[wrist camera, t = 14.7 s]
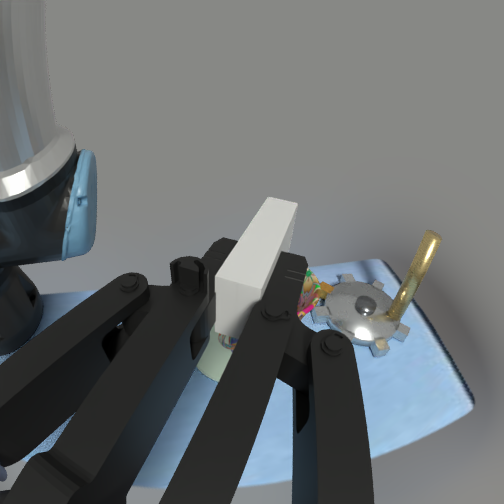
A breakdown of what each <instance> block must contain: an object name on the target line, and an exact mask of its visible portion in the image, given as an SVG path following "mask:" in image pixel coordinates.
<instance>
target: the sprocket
mask: <svg viewBox="0 0 504 504" xmlns="http://www.w3.org/2000/svg"><path fill="white" fill-rule="evenodd" d="M441 240H442V238H441V236H440V235H438V234H437V233H436V232H434V231H431V230H426V232H425V234H424V237H423V240H422V241H421V244H420V246H419V248H418V251H417V253H416V255H415V258H414V260H413V262H412V264H411V266H410V269H409V270H408V273H407V275H406V277H405V279H404V281H403V283H402V285H401V287H400V289H399V291H398V293H397V295H396V297H395V299H394V301H393V300H392V299H391V298H390V297H389V296H388V295H387V294H386V293H385V292H383V291H382V289H383V287H384V284H383V283H381V282H379V281H377V280H375V281H374V283H373V284H372V285H370V284H367V283H363V282H358V281H355V279H354V277H353V275H352V274H342V276H341V279H340V283H339V284H337V285H335V286H334V287H332V286H331V285H329V284H327V283H325V282H322V283H321V284H320V288H321V294H320V297H321V298H323V299H324V300H325V302H324V306H316V307H314V308H313V311H312V317H313V320H314V323H328V325H329V326H330V327H331V329H332V330H336V331H339V332H341V333H343V334H345V335H346V336H347V337H348V338H349V339H350V340H351V343H353V344H356V345H360V346H367V347H370V348H371V350H372V352H373V355H374V357H380V356H385V355H386V354H387V353H388V351H389V350H390V348H389V346H388V343H387V342H388V341H389V340H390V339H391V338H392V337H394V338H396V339H398V340H400V341H402V342H404V340H405V339H406V337H407V336H408V333H409V330H410V328H409V327H407V326H406V325H404V324H402V323H400V319H401V318H402V316H403V315H404V313H405V311H406V309H407V307H408V306H409V304H410V302H411V300H412V298H413V297H414V295H415V293H416V291H417V289H418V287H419V285H420V283H421V282H422V280H423V278H424V276H425V274H426V272H427V270H428V268H429V266H430V264H431V262H432V260H433V258H434V255H435V253H436V251H437V249H438V246H439V245H440V242H441Z"/></svg>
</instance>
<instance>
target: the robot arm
mask: <svg viewBox="0 0 504 504" xmlns="http://www.w3.org/2000/svg"><path fill="white" fill-rule="evenodd" d="M45 8H46V0H0V356H2V355H5V354H8V353H11V352H13V351H14V350H16V349H18V348H19V347H20V346H22V345H23V344H24V343H25V342H26V341H27V340H28V339H29V338H30V337H31V336H32V334H33V333H34V332H35V330H36V328H37V327H38V325H39V322H40V320H41V317H42V313H43V302H42V298H41V296H40V294H39V292H38V290H37V288H36V286H35V285H34V283H33V282H32V281H31V280H30V279H29V278H28V276H27V275H26V274H25V273H24V272H23V271H22V270H21V269H20V267H19V266H18V265H25V264H33V263H40V262H41V263H42V262H50V261H58V260H62V261H64V260H66V258H71V257H75V256H80V255H84V254H86V253H87V252H89V251H90V249H91V247H92V246H93V244H94V240H95V233H96V213H97V170H96V159H95V155H94V153H93V152H92V151H90V150H85V149H83V150H81V151H79V152H77V149H76V145H75V139H74V135H73V134H72V132H71V131H70V130H69V129H67V128H65V127H63V126H60V125H57V123H56V118H55V113H54V107H53V102H52V95H51V87H50V79H49V72H48V61H47V48H46V26H45V25H46V23H45ZM297 206H298V204H297V203H294V202H290V201H285V200H281V199H276V198H271V197H268V198H267V200H266V201H265V202H264V204H263V205H262V207H261V208H260V210H259V211H258V213H257V214H256V216H255V217H254V219H253V220H252V222H251V223H250V225H249V226H248V227H247V229H246V231H245V232H244V233H243V235H242V236H241V238H240V239H239V241H236V240H231V239H227V238H221V239H219V240H218V241H216V242H214V243H213V244H212V246H211V247H210V248H209V250H208V251H207V252H206V253H205V255H204V257H202V258H201V259H200V258H198V257H192V256H188V257H180V258H178V259H175V260H174V261H172V262H171V263H170V270H171V279H172V284H171V285H170V286H156V285H148V281H147V279H146V278H145V276H144V275H141V274H139V273H126V274H123V275H121V276H119V277H117V278H116V279H114V280H113V281H111V282H110V283H108V284H107V285H106V286H104V287H103V288H101V289H100V290H98V291H97V292H96V293H94V294H93V295H91V296H90V297H88V298H87V299H86V300H84V301H83V302H81V303H80V304H79V305H77V306H76V307H74V308H73V309H72V310H70V311H69V312H68V313H66V314H65V315H64V316H62V317H61V318H59V319H58V320H57V321H55V322H54V323H53V324H51V325H50V326H49V327H47V328H46V329H45V330H44V331H42V332H41V333H40V334H38V335H37V336H36V337H34V338H33V339H32V340H31V341H29V342H28V343H27V344H25V345H24V346H23V347H22V348H20V349H19V350H18V351H17V352H15V353H14V354H13V355H12V356H10V357H9V358H8V359H7V360H5V361H4V362H3V363H2V364H1V365H0V481H5V480H6V479H7V472H6V470H5V468H4V467H7V466H10V465H12V464H14V463H16V462H18V461H20V460H21V459H23V458H24V457H25V456H27V455H28V454H29V453H30V452H31V451H33V450H34V449H35V448H36V447H37V446H38V445H39V444H40V443H42V442H43V441H44V440H45V439H46V438H47V437H48V436H49V435H50V434H52V433H53V432H54V431H55V430H56V429H57V428H58V427H59V426H61V425H62V424H63V423H64V422H65V421H66V420H67V419H68V418H69V417H71V416H72V415H73V414H74V413H75V412H76V413H75V414H74V416H73V417H72V419H71V420H70V422H69V423H68V424H67V426H66V427H65V429H64V430H63V432H62V434H61V435H60V437H59V438H58V440H57V441H56V443H55V444H54V446H53V447H52V448H51V449H50V450H49V451H47V452H42V453H37V454H36V455H34V456H32V457H31V458H30V459H29V461H28V462H27V463H26V465H25V466H24V468H23V469H22V471H21V473H20V474H19V476H18V478H17V479H16V481H15V483H14V484H13V486H12V488H11V490H5V491H0V504H126V496H127V493H128V491H129V490H130V488H131V486H132V484H133V482H134V480H135V479H136V477H137V475H138V473H139V471H140V469H141V468H142V466H143V464H144V462H145V460H146V458H147V457H148V455H149V453H150V451H151V449H152V447H153V445H154V444H155V442H156V440H157V438H158V436H159V434H160V433H161V431H162V429H163V427H164V425H165V423H166V421H167V420H168V418H169V416H170V414H171V412H172V410H173V408H174V407H175V405H176V403H177V401H178V399H179V397H180V395H181V394H182V392H183V390H184V388H185V386H186V384H187V382H188V381H189V379H190V377H191V375H192V373H193V371H194V369H195V368H196V366H197V364H198V362H199V360H200V358H201V356H202V355H203V353H204V351H205V349H206V347H207V345H208V343H209V340H210V331H211V329H212V327H213V325H214V324H215V332H217V333H220V334H223V335H226V336H230V337H233V338H236V339H238V341H237V344H236V346H235V348H234V350H233V352H232V354H231V357H230V359H229V361H228V363H227V365H226V367H225V370H224V372H223V374H222V376H221V378H220V380H219V382H218V385H217V387H216V389H215V391H214V393H213V395H212V397H211V399H210V401H209V404H208V406H207V408H206V410H205V412H204V414H203V416H202V418H201V420H200V422H199V424H198V426H197V428H196V431H195V433H194V435H193V437H192V439H191V441H190V443H189V445H188V447H187V449H186V451H185V453H184V455H183V457H182V459H181V461H180V463H179V465H178V467H177V469H176V471H175V473H174V475H173V477H172V479H171V481H170V483H169V485H168V487H167V489H166V491H165V493H164V495H163V497H162V498H161V501H160V502H159V504H230V503H231V501H232V498H233V496H234V494H235V491H236V489H237V486H238V484H239V481H240V479H241V476H242V474H243V471H244V468H245V466H246V463H247V461H248V458H249V455H250V453H251V450H252V447H253V445H254V442H255V439H256V436H257V433H258V431H259V428H260V425H261V422H262V419H263V416H264V414H265V411H266V408H267V405H268V402H269V399H270V396H271V393H272V390H273V387H274V383H275V380H276V378H278V379H280V380H281V381H283V382H284V383H286V384H288V385H289V386H291V387H293V476H292V504H374V492H373V479H372V468H371V457H370V448H369V440H368V432H367V424H366V417H365V410H364V404H363V397H362V391H361V385H360V379H359V374H358V368H357V363H356V358H355V353H354V348H353V345H352V343H351V340H350V339H349V338H348V337H347V336H346V335H345V334H343V333H341V332H339V331H336V330H332V329H327V330H321V331H319V332H315V331H313V330H311V329H310V328H308V327H307V326H305V325H304V324H303V323H302V322H301V321H300V319H299V317H298V314H297V306H298V302H299V299H300V295H301V291H302V287H303V283H304V280H305V276H306V272H307V268H308V264H307V261H306V259H305V257H303V256H300V255H296V254H291V253H288V251H289V248H290V243H291V238H292V233H293V228H294V222H295V217H296V211H297ZM121 322H122V324H121V325H119V326H117V325H118V324H120V323H121Z"/></svg>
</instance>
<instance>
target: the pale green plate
mask: <svg viewBox="0 0 504 504" xmlns="http://www.w3.org/2000/svg"><path fill="white" fill-rule="evenodd" d="M218 336H219V333H217V332H215V324H214V325H213V327H212V329H211V331H210V340H209V343H208V345H207V347H206V349H205V351H204V353H203V355H202V356H201V358H200V360H199V362H198V364H197V366H196V367H197V368H198V369H199V370H200V371H201V372H202V373H203V374H204V375H205V376H207V377H208V378H210V379H212V380H214V381H216V382H219V380H220V378H221V376H222V374H223V372H224V370H225V367H226V365H227V363H228V361H229V359H230V357H231V354H232V352H231V350H230V349H226V348H225V347H223V346H222V345H221V344H220V342H219V340H218ZM225 343H226V344H229V336H226V338H225Z"/></svg>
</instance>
